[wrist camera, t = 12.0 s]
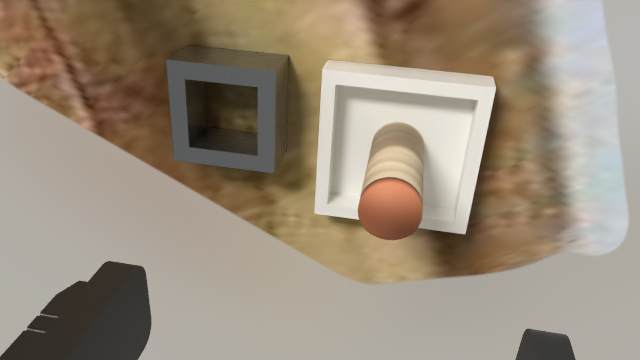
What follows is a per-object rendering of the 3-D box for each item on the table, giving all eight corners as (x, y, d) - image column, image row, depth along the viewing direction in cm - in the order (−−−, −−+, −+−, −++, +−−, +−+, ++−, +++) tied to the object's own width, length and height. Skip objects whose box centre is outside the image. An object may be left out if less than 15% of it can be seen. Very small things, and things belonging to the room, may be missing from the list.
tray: (328, 59, 42) (322, 69, 40) (492, 76, 41) (496, 87, 39) (319, 198, 48) (314, 213, 46) (464, 217, 47) (465, 234, 44)
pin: (374, 118, 43) (360, 180, 35) (427, 125, 43) (427, 189, 34) (369, 165, 45) (354, 234, 36) (420, 172, 45) (417, 244, 36)
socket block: (187, 44, 44) (166, 59, 40) (288, 55, 43) (275, 71, 39) (193, 139, 48) (174, 160, 44) (286, 151, 47) (274, 173, 43)
